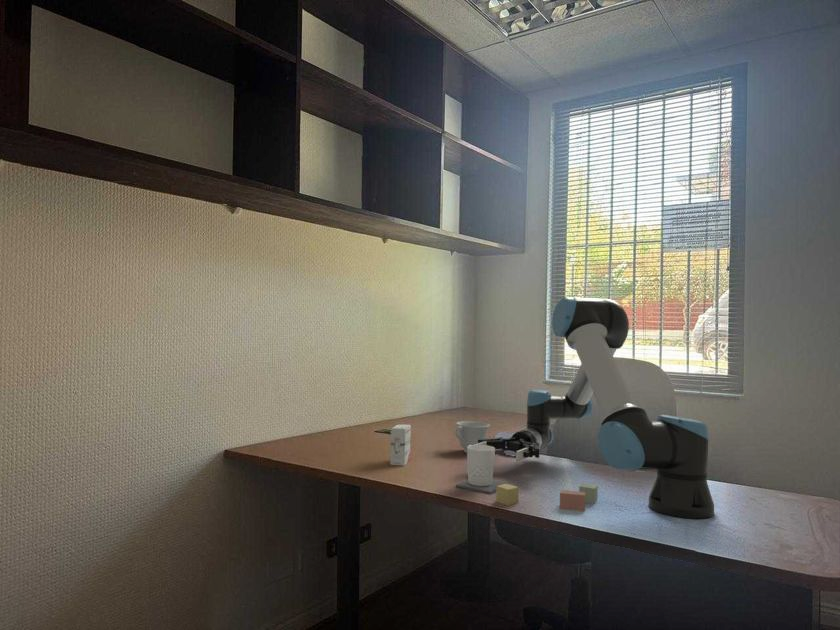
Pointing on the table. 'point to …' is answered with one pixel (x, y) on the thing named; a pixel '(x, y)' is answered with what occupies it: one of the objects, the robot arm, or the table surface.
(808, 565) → the table surface
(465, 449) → the teacup
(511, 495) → the mustard block
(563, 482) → the table surface
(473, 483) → the white cup
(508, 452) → the wedge on round base
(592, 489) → the sage block
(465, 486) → the slate coaster
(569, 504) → the brick-red long block
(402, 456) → the ink box
